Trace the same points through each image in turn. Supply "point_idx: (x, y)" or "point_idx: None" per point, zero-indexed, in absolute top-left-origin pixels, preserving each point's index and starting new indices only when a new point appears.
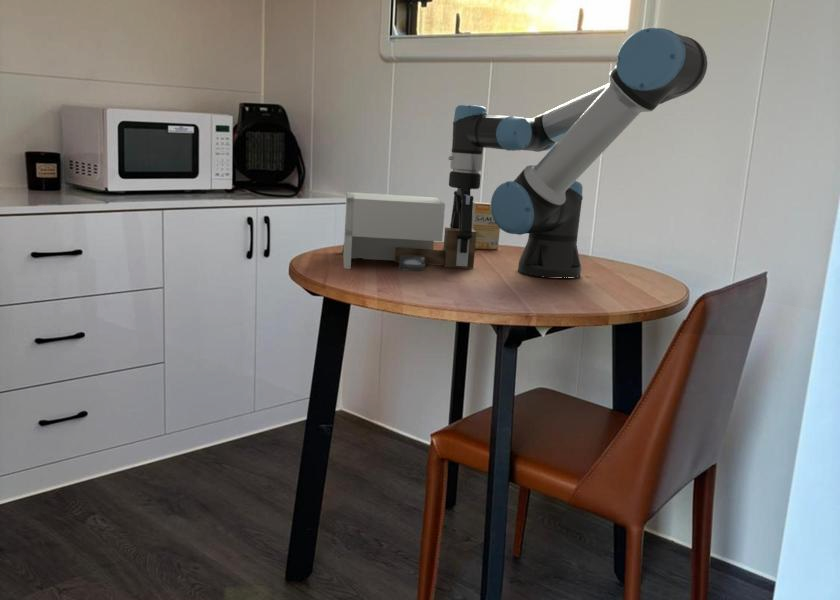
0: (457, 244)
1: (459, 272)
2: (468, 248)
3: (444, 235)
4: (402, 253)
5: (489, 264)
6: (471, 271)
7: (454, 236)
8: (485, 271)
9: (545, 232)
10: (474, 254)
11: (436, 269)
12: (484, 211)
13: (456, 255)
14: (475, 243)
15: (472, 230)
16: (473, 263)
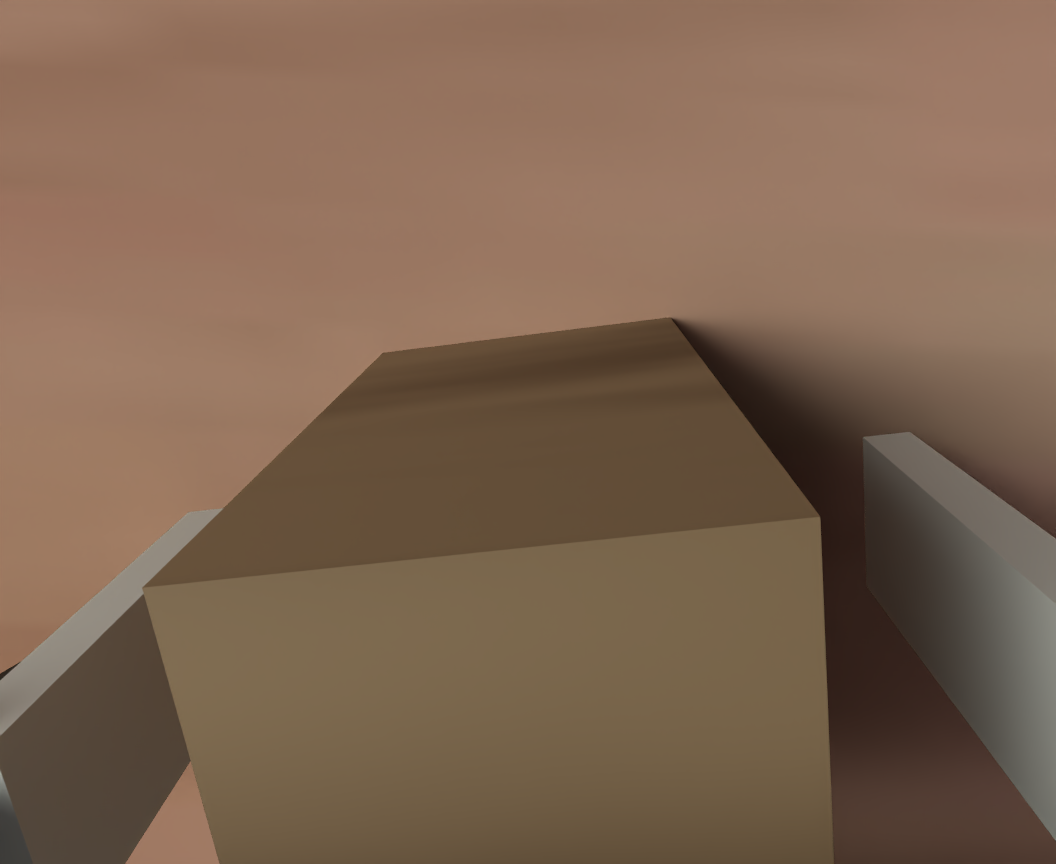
0: (1027, 783)
1: (1053, 516)
2: (1053, 545)
3: None
4: None
5: (187, 40)
6: (927, 354)
7: None
8: (862, 143)
9: None
10: (702, 360)
11: (915, 771)
12: None
13: (923, 660)
14: (736, 412)
15: (525, 625)
16: (678, 334)
